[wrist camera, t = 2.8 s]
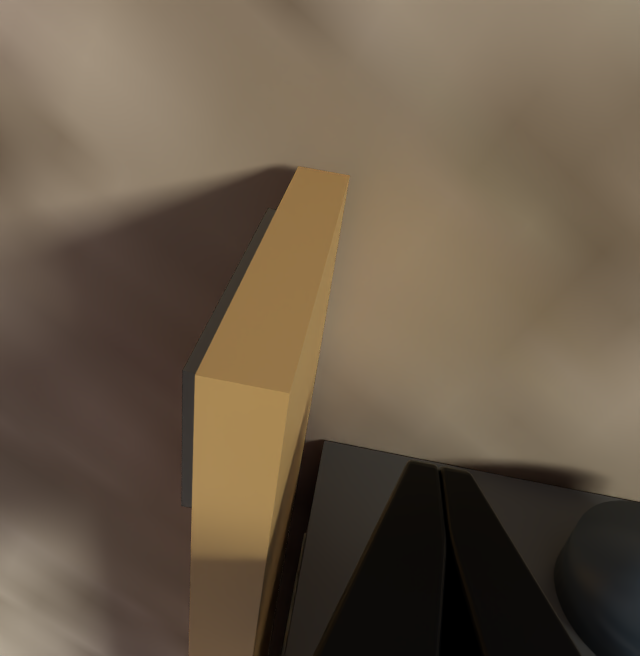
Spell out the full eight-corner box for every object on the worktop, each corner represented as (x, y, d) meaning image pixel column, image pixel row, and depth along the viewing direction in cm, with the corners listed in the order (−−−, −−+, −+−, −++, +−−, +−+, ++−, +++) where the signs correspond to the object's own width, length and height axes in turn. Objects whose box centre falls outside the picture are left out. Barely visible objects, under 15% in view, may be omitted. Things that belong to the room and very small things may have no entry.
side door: (260, 719, 20) (216, 940, 15) (224, 711, 20) (170, 929, 16) (356, 176, 9) (301, 396, 5) (278, 162, 9) (159, 369, 5)
